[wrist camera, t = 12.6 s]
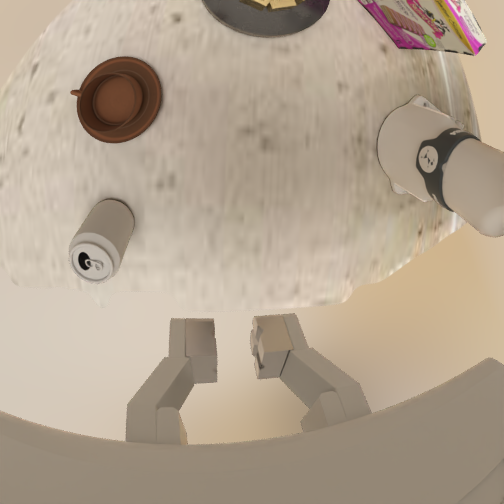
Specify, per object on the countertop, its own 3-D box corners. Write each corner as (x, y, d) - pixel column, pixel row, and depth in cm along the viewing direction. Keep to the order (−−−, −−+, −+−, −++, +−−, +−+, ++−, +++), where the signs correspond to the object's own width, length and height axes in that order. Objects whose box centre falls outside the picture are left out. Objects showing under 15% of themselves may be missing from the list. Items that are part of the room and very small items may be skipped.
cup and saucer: (83, 143, 31) (64, 155, 26) (84, 64, 24) (64, 63, 19) (161, 138, 33) (153, 148, 28) (167, 54, 27) (159, 49, 22)
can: (93, 193, 35) (61, 235, 26) (138, 201, 38) (118, 246, 28) (91, 234, 39) (66, 282, 30) (133, 242, 42) (117, 293, 32)
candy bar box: (353, -2, 23) (426, -24, 10) (370, -14, 22) (442, -34, 8) (398, 51, 29) (477, 57, 16) (413, 37, 27) (489, 41, 14)
